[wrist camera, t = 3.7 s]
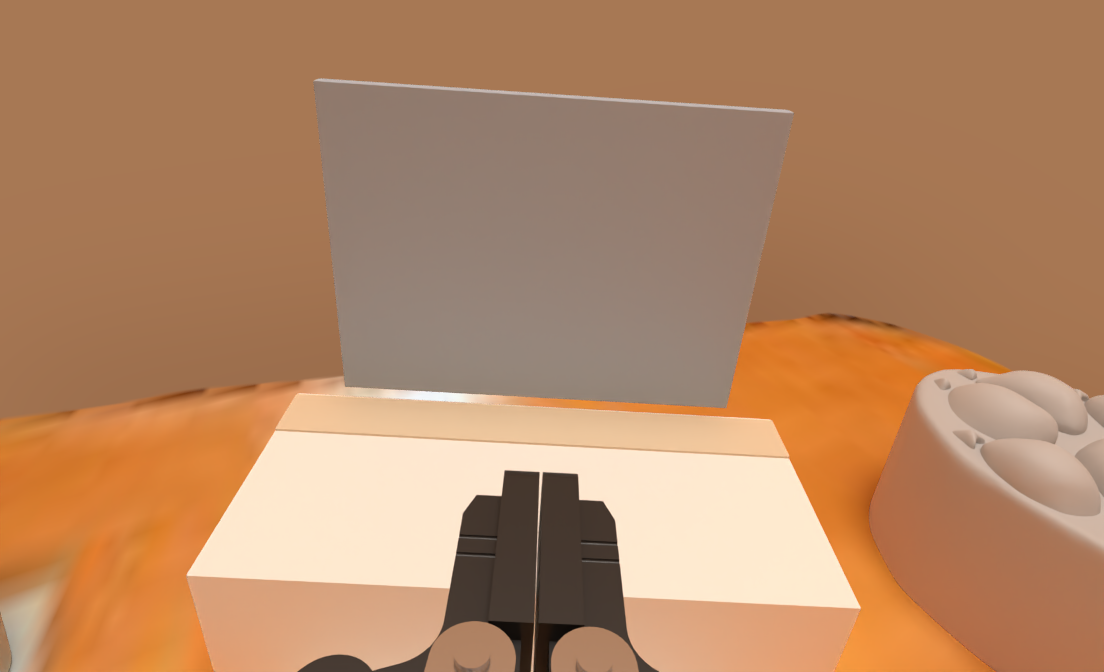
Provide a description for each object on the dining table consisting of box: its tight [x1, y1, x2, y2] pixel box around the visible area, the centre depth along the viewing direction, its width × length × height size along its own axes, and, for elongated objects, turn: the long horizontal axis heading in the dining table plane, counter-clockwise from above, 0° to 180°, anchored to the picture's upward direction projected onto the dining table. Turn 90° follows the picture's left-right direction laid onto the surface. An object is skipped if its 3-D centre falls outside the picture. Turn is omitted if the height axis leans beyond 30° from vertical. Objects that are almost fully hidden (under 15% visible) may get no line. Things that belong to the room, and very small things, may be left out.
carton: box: [186, 393, 861, 672], centre depth 25 cm, size 20×10×6 cm, turn 90°
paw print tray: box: [869, 369, 1104, 672], centre depth 27 cm, size 10×13×9 cm
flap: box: [314, 79, 794, 408], centre depth 25 cm, size 16×1×12 cm, turn 90°
